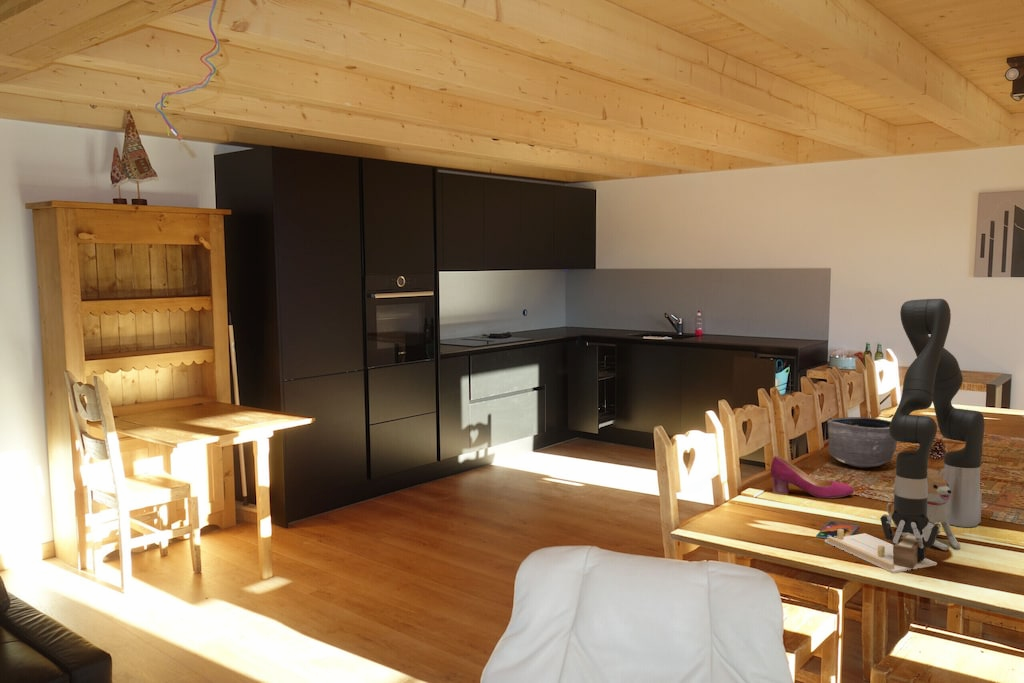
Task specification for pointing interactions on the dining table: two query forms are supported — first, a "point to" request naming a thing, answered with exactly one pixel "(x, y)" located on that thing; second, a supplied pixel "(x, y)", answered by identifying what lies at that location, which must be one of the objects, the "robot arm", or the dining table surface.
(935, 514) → the toy
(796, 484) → the high heel
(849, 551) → the wall board
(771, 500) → the dining table surface
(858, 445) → the tea bowl
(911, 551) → the brown rectangular block
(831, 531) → the smartphone
